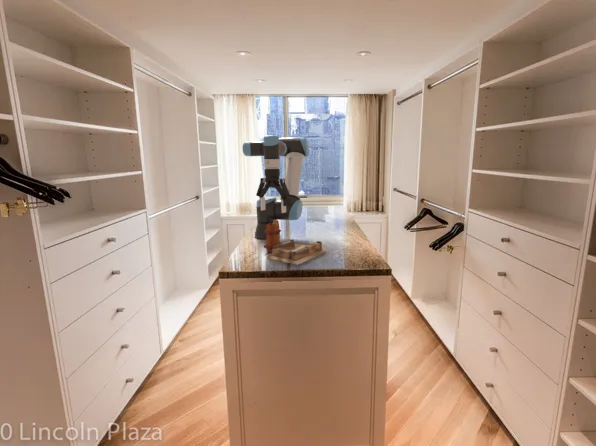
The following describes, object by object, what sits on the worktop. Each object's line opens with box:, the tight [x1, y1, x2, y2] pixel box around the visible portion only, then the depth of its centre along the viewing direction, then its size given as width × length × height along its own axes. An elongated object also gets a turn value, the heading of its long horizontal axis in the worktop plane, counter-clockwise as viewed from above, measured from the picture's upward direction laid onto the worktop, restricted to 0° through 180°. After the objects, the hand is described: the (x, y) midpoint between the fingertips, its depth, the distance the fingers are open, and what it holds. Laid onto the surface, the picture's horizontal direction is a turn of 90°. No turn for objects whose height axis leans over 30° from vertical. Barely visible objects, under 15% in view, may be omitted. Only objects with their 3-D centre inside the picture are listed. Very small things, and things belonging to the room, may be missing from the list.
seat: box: [266, 239, 327, 266], centre depth 157 cm, size 18×24×5 cm
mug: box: [263, 220, 282, 254], centre depth 165 cm, size 15×8×15 cm, turn 168°
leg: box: [305, 240, 323, 254], centre depth 158 cm, size 11×3×4 cm, turn 140°
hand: (273, 211), depth 162 cm, fingers open, 13 cm apart
